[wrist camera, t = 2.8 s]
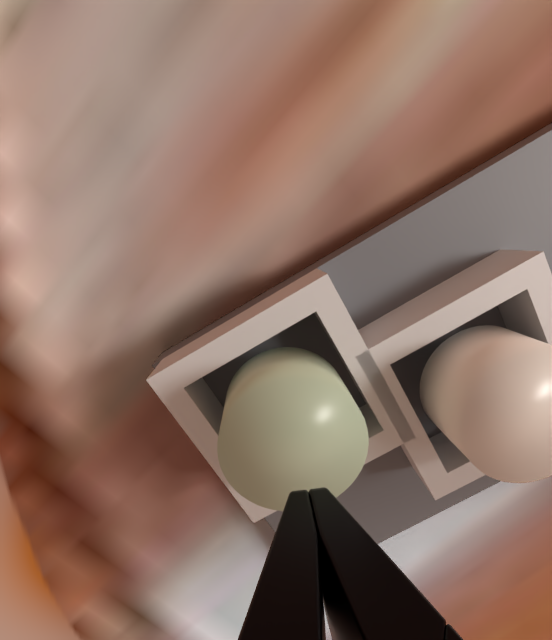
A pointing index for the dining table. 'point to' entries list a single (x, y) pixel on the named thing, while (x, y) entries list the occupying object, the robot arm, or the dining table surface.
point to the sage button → (290, 428)
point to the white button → (493, 400)
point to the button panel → (391, 330)
